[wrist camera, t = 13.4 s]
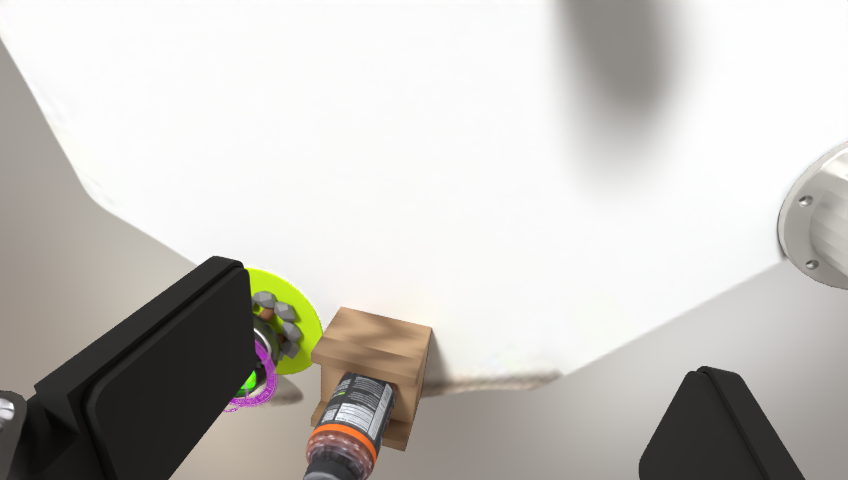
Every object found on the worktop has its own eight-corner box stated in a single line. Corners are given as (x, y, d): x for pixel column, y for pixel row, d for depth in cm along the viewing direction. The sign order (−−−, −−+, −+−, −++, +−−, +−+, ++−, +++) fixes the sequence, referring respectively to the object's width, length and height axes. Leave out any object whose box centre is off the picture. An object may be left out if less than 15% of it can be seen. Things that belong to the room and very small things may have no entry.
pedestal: (431, 327, 45) (415, 378, 38) (420, 395, 49) (404, 451, 43) (341, 306, 46) (310, 352, 39) (338, 374, 51) (311, 425, 44)
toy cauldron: (299, 261, 45) (237, 325, 35) (339, 372, 51) (295, 453, 41) (183, 272, 49) (99, 332, 39) (233, 373, 55) (170, 447, 45)
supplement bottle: (382, 416, 45) (342, 526, 35) (333, 387, 44) (278, 490, 34) (409, 383, 42) (374, 493, 32) (357, 352, 41) (304, 453, 32)
